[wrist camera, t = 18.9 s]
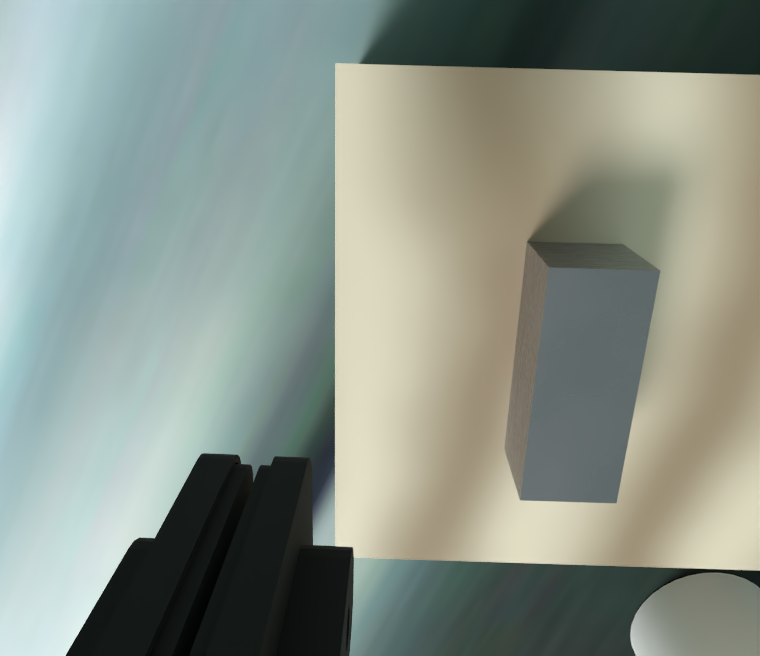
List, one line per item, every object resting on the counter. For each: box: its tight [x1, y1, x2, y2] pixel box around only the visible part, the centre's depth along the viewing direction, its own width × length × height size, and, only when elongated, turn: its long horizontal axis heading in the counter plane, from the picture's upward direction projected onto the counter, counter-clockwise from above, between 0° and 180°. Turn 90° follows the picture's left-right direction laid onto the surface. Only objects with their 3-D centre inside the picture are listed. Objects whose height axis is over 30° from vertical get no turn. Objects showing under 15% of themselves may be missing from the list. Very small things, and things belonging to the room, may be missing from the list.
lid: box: [335, 63, 760, 571], centre depth 17 cm, size 20×14×4 cm
